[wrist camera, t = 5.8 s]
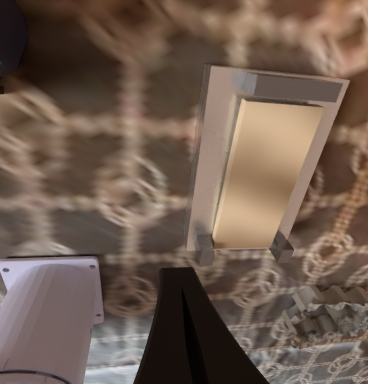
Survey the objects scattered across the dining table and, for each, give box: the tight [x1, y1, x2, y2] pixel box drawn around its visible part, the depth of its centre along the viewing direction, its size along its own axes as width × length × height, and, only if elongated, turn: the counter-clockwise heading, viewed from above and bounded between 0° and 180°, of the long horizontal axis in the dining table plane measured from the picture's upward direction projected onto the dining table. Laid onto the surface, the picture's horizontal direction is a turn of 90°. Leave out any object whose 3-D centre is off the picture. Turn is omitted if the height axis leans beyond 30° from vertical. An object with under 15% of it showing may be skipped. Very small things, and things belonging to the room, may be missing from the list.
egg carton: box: [282, 285, 368, 349], centre depth 30 cm, size 11×8×4 cm
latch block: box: [183, 64, 350, 266], centre depth 18 cm, size 14×9×4 cm, turn 175°
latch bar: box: [211, 98, 325, 249], centre depth 18 cm, size 12×5×1 cm, turn 175°
